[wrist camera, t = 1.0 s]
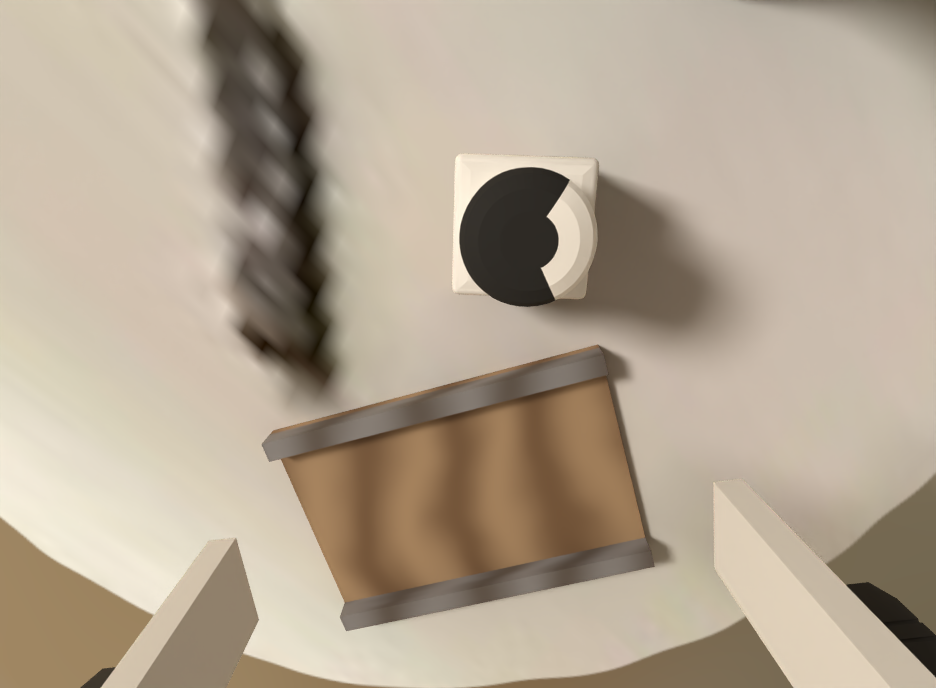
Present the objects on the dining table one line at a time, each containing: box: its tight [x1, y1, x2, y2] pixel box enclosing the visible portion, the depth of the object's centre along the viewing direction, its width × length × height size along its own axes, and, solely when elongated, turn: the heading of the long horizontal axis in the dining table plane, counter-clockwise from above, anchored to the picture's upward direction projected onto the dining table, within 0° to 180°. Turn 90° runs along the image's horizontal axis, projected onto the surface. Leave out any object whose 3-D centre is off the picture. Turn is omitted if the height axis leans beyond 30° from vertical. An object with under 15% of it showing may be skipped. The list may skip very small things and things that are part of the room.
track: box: [262, 345, 655, 631], centre depth 40 cm, size 24×17×2 cm
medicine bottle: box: [452, 153, 599, 307], centre depth 29 cm, size 7×7×12 cm
